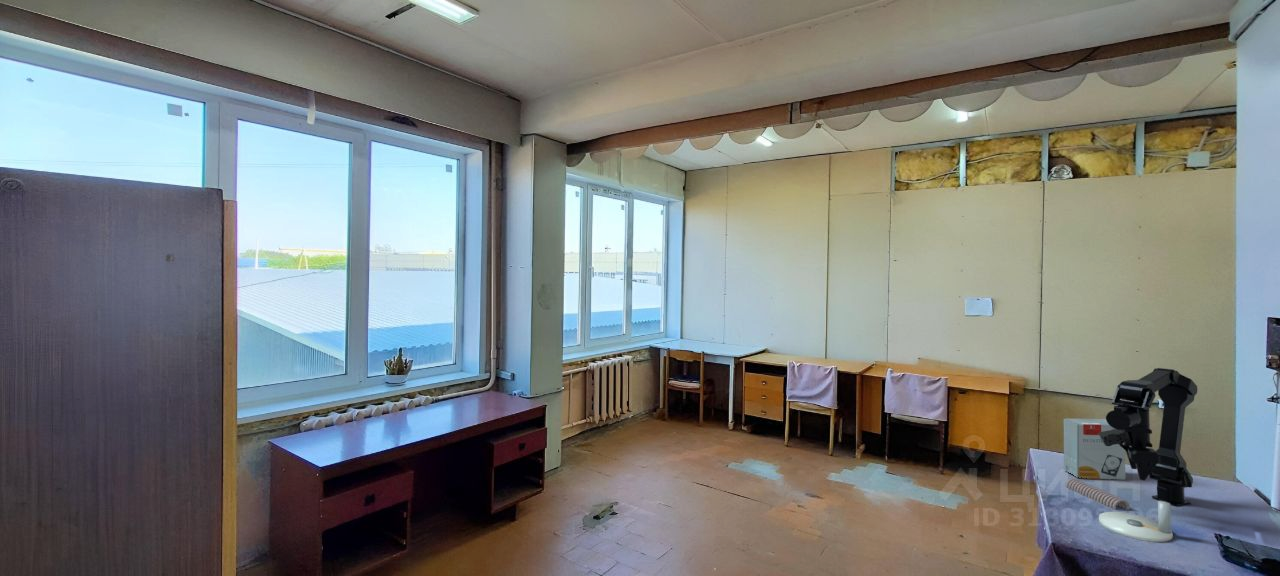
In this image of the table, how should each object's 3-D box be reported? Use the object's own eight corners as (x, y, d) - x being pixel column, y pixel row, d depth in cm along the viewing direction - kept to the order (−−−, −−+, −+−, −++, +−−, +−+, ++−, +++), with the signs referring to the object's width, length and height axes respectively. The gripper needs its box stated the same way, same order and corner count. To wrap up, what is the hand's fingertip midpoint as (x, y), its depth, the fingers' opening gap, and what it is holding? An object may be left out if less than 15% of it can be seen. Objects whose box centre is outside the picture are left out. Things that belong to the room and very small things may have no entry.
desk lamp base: (1102, 510, 155) (1102, 481, 154) (1173, 527, 143) (1173, 495, 143) (1095, 528, 145) (1094, 496, 144) (1171, 548, 133) (1170, 513, 133)
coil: (1063, 478, 172) (1116, 501, 154) (1076, 476, 172) (1130, 499, 154) (1065, 492, 172) (1117, 516, 154) (1078, 489, 172) (1132, 514, 154)
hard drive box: (1077, 479, 180) (1076, 424, 180) (1063, 470, 188) (1061, 417, 188) (1127, 480, 178) (1125, 424, 177) (1110, 471, 185) (1109, 418, 185)
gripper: (1094, 412, 165) (1096, 459, 166) (1107, 429, 150) (1109, 481, 150) (1141, 416, 159) (1143, 465, 160) (1160, 434, 144) (1161, 488, 144)
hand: (1137, 474), depth 154 cm, fingers open, 9 cm apart
